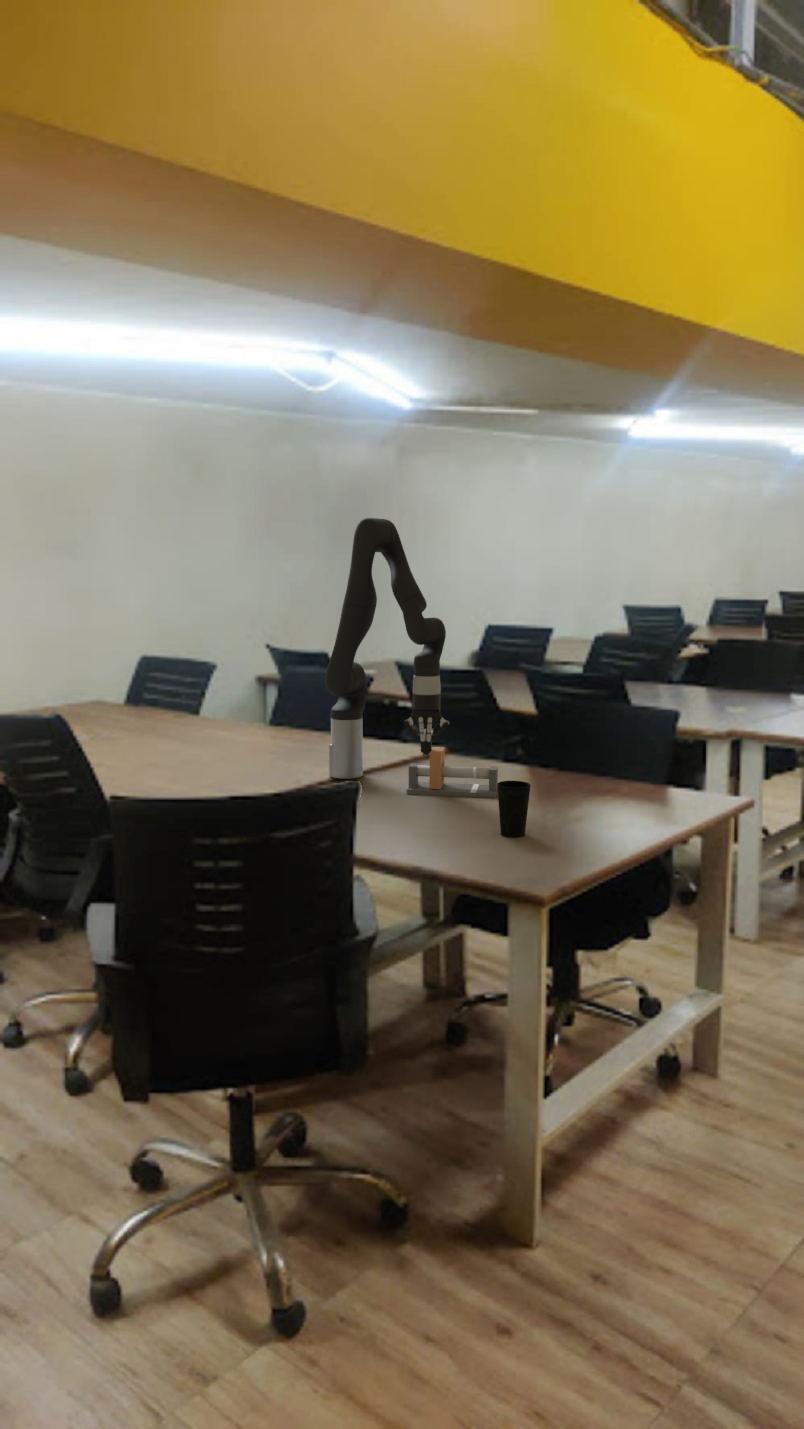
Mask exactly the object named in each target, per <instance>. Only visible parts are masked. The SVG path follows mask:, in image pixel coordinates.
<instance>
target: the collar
mask: <svg viewBox="0 0 804 1429" xmlns="http://www.w3.org/2000/svg"><path fill="white" fill-rule="evenodd" d="M445 750H446V748H445V747H444V746H434V747H433V748H432V750H431V752H430V753H429V766H430V777H429V782H430V789H441V788H442V786H443V784H444V783H445V777H441V766H446V765H445V761H446V760H445V756H446V754H445V752H446V751H445Z"/></svg>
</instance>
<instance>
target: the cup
mask: <svg viewBox="0 0 804 1429" xmlns="http://www.w3.org/2000/svg"><path fill="white" fill-rule="evenodd" d="M531 787H532V786H531V784H530V782H527V781H522V780H502V781H499V782H498V784H497V789H498V792H497V797H498V798H497V799H498V814H499V824H500V825H499V826H500V835H501V836H502V837H505V838H510V839H512V838H513V839H519V838H523V837H525V835H526V827H527V817H528V810H529V803H530V802H529V801H530V792H531Z"/></svg>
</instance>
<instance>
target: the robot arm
mask: <svg viewBox="0 0 804 1429" xmlns="http://www.w3.org/2000/svg"><path fill="white" fill-rule="evenodd" d="M353 533H354V534H353V541H352V542H353V543H352V548H351V549H352V550H351V559H350V560H351V561H350V569H349V573H348V578H347V584H346V591H345V594H344V598H343V603H342V608H341V611H340V612H341V613H340V619H339V623H338V629H337V632H336V636H335V637H336V638H335V642H334V644H333V645H334V646H333V648H332V649H333V650H332V651H331V652H332V653H331V656H330V658H329V662H328V663H327V664H328V665H327V668H326V672H325V677H324V681H325V682H324V683H325V686H326V689H327V691H328V692H329V693H330V695H332V696H335V697H338V699H337V701H336V703H335V704H334V705H333V706H332V707H331V709H330V744H328V763H329V764H328V769H329V770H328V776H329V777H330V778H336V779H340V780H341V779H342V780H343V779H345V780H347V779H350V780H351V779H358V778H362V777H363V774H364V773H363V772H364V770H363V769H364V767H363V766H364V765H363V764H364V761H363V760H364V759H363V749H364V748H363V744H364V743H363V742H364V741H363V740H364V739H363V737H364V735H363V713H364V710H365V707H366V701H367V700H366V697H367V696H366V695H367V676H366V671H365V669H364V667H363V666H362V665H361V664H359V663H358V662H355V657H356V655H357V651H358V648H359V647H360V645H361V643H362V642H363V640H364V639H365V637H366V635H367V634H368V632H369V631H370V628H371V627H372V624H373V622H374V617H375V612H376V608H377V602H378V598H377V597H378V596H377V592H376V587H375V584H374V580H373V574H372V573H373V564H374V558H375V554H376V553H381V555H382V557H384V559H385V560H386V563H387V564H388V567H389V571H390V586H391V591H392V593H393V596H394V599H395V600H396V602H397V604H398V606H399V608H400V611H402V616H403V621H404V626H405V630H406V633H407V636H408V637H409V639H410V640H411V641H412V642H413V643H414V644H415V645H418V646H423V647H422V650H421V652H419V653H417V654H415V656H414V658H413V679H412V712H411V713H410V717H409V718H407V719H405V720H404V721H403V725H404V726H405V728H406V729H407V731H408V732H409V733H410V735H411V736H412V737H413V739H414V740H417V741H420V753H421V754H422V755H423V756H430V752H431V750H432V749H433V748H432V747H433V744H432V743H433V741H436V740H437V739H438V738H440V736H441V735H442V733H444V731H445V730H446V729H447V727H448V726H449V725H450V721H449V720H446V719H445V718H444V717H443V713H442V712H441V691H442V687H441V674H440V672H441V671H440V669H441V668H440V667H441V663H440V661H441V660H440V659H441V657H442V654H443V650H444V646H445V641H446V635H447V634H446V633H447V632H446V626H445V624H444V622H443V620H442V619H440V618H438V617H424V616H423V612H424V611H425V610H427V604H428V603H427V600H426V598H425V596H424V595H423V592H422V591H421V588H420V587H419V585H418V584H417V583H418V582H416V579H415V577H414V574H413V572H412V570H411V568H410V565H409V562H408V558H407V556H406V553H405V552H406V551H405V550H404V546H403V544H402V540H401V538H400V535H399V532H398V530H397V527H396V525H395V523H393V522H392V521H391V520H389V519H386V518H385V519H384V518H377V517H376V518H375V517H364V518H362V519H361V520H359V522H357V525H356V527H355V530H354V532H353ZM439 722H440V723H439ZM414 724H415V725H416V727H417V728H418V730H417V729H416V728H415V727H414ZM438 724H439V726H440V728H439V729H438V730H437V731H436V733H434V729H435V728H436V726H437V725H438ZM433 733H434V734H433Z"/></svg>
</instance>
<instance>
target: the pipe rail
mask: <svg viewBox="0 0 804 1429" xmlns="http://www.w3.org/2000/svg"><path fill="white" fill-rule="evenodd" d="M498 770H499V767H498V766H489V767H477V766H473V767H472V766H471V767H470V766H450V765H449V766H447V765H445V766H441V777H444V778H452V779H454V778H455V779H456V778H457V779H474V780H477V779H479V780H488V784H480V783H451V782H449V783H448V782H444V784H443V786H442V788H441V789H430V781H427V782H426V781H419V777H429V778H430V765H425V764H424V765H422V764H421V765H419V763H410V764H409V765H408V787H407V789H406V795H420V796H421V795H422V796H444V797H465V798H466V797H467V798H468V797H469V798H488V799H489V798H490V799H491V798H492V799H495V798H496V797H497V796H498V789H497V784H498V783H499V782H498V779H499V777H498V774H499V772H498Z"/></svg>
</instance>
